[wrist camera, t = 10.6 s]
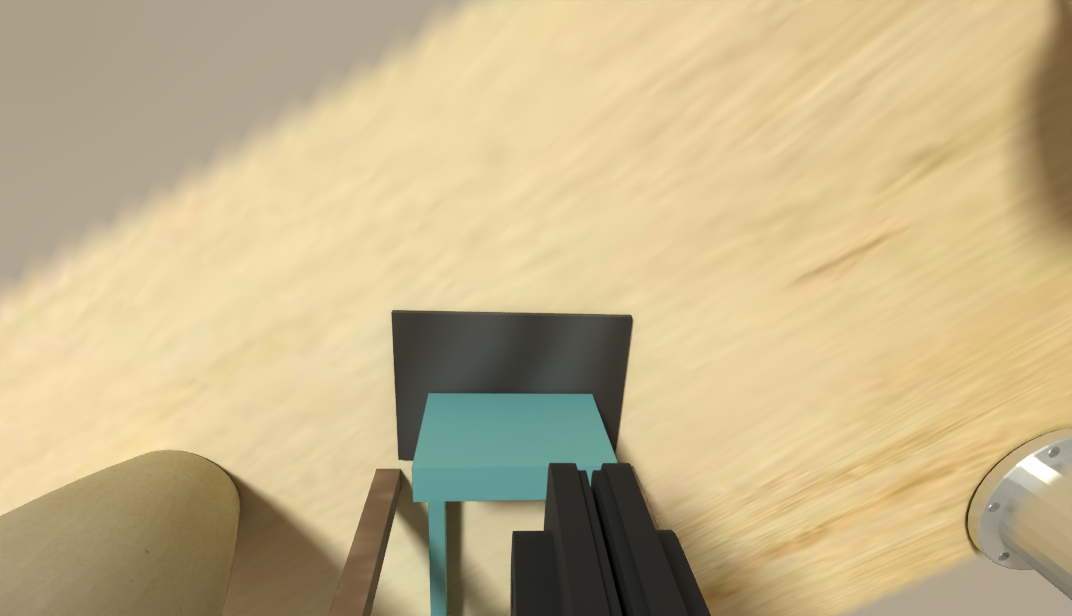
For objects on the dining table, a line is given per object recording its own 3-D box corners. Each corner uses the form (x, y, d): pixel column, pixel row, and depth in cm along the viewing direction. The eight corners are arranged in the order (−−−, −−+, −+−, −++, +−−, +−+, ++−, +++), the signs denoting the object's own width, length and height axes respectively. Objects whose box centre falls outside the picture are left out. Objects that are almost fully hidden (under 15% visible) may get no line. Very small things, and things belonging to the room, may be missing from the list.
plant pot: (210, 356, 29) (-80, 603, 14) (342, 537, 34) (229, 854, 20) (-12, 450, 30) (-506, 775, 15) (148, 612, 35) (-101, 972, 20)
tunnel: (654, 315, 31) (802, 490, 16) (614, 597, 39) (689, 884, 24) (366, 309, 29) (241, 499, 14) (385, 605, 37) (317, 919, 22)
